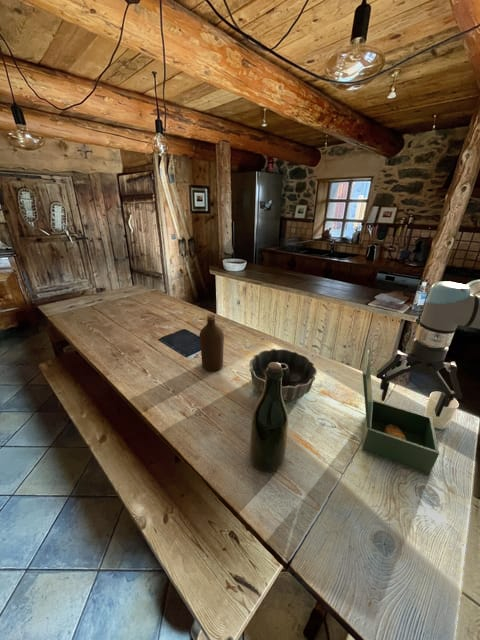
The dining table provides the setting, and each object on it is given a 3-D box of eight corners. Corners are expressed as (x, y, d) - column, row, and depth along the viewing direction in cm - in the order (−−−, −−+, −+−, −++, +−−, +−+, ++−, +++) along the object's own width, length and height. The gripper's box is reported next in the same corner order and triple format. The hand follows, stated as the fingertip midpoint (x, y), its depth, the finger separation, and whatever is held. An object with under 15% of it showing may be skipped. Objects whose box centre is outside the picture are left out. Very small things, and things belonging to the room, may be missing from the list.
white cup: (426, 428, 90) (435, 405, 86) (417, 411, 97) (426, 389, 93) (452, 432, 88) (463, 410, 84) (442, 415, 95) (452, 393, 91)
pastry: (380, 425, 90) (383, 417, 88) (402, 431, 88) (406, 423, 86) (383, 448, 82) (386, 439, 80) (408, 455, 80) (412, 446, 78)
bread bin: (423, 437, 87) (432, 417, 83) (428, 475, 75) (439, 453, 71) (365, 418, 94) (370, 398, 90) (361, 450, 82) (368, 429, 78)
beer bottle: (260, 436, 86) (266, 349, 72) (290, 452, 81) (303, 361, 67) (242, 461, 78) (245, 368, 64) (274, 480, 73) (285, 384, 59)
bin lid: (368, 349, 84) (366, 349, 84) (365, 374, 72) (362, 374, 72) (372, 397, 89) (369, 397, 90) (369, 428, 78) (366, 428, 78)
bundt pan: (283, 360, 125) (285, 342, 121) (327, 392, 105) (331, 372, 101) (236, 379, 112) (236, 359, 108) (276, 419, 92) (278, 397, 88)
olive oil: (209, 375, 114) (207, 323, 103) (196, 364, 122) (193, 314, 111) (229, 366, 120) (228, 316, 110) (215, 356, 128) (214, 308, 117)
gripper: (377, 337, 70) (361, 399, 79) (498, 361, 60) (464, 430, 69) (378, 326, 76) (363, 385, 85) (488, 346, 66) (458, 411, 75)
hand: (408, 405), depth 77 cm, fingers open, 13 cm apart
